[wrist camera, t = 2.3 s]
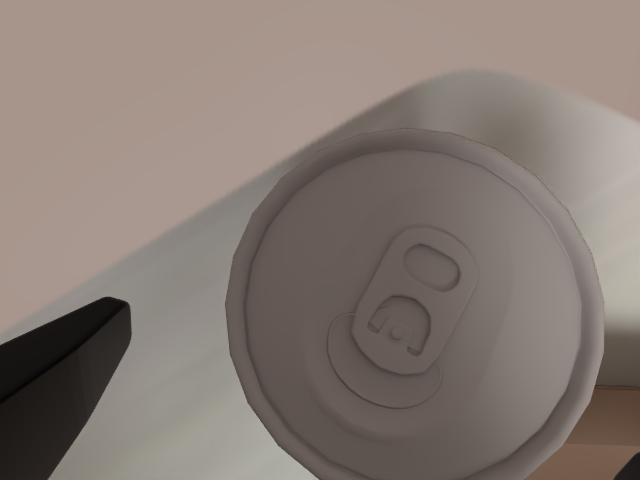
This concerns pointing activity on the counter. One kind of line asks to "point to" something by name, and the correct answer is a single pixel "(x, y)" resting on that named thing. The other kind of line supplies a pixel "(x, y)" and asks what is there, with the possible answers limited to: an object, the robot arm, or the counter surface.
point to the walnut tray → (598, 438)
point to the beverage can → (415, 312)
